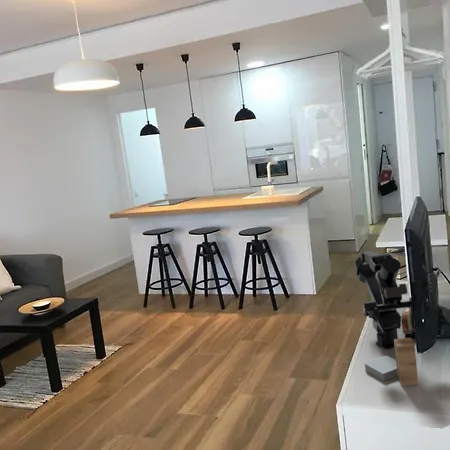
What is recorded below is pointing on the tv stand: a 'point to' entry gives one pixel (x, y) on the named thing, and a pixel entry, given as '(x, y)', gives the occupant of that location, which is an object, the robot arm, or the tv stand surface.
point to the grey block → (382, 368)
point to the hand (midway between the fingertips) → (398, 330)
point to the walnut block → (406, 361)
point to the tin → (406, 321)
